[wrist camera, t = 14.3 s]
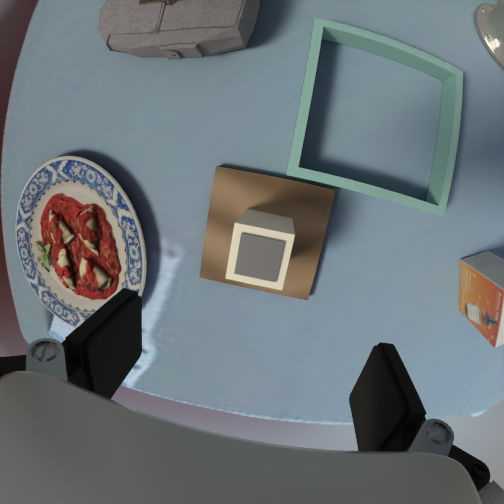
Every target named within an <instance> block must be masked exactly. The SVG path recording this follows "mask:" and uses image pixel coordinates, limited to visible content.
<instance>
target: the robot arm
mask: <svg viewBox="0 0 504 504" xmlns="http://www.w3.org/2000/svg"><path fill="white" fill-rule="evenodd" d="M474 17H475V24H476V27H477V30H478V33H479V35H480V37H481V39H482V41H483V43H484V45H485V47H486V48H487V50H488V51H489V53H490V54H491V55H492V57H493V58H494V59H495V60H496V61H497V63H498V64H499V65H500V66H501V67H502V68H503V69H504V0H499V3H498V4H496V5H491V4H482V5H481V6H479V7H478V8H477V9H476V11H475V16H474ZM65 339H66V340H65V341H63V342H62V343H60V342H59V341H57V340H55V339H51V338H43V339H38V340H36V341H34V342H32V343H31V344H30V345H29V347H28V349H27V354H26V355H20V356H9V357H0V504H504V490H503V489H502V488H501V487H500V486H499V485H498V484H497V483H496V482H495V481H494V480H493V481H492V482H489V480H490V471H489V469H488V467H487V466H486V465H485V463H483V462H482V461H480V460H478V459H477V458H475V457H473V456H472V455H470V454H468V453H466V452H464V451H463V450H461V449H460V448H458V447H456V446H454V445H453V441H454V433H453V431H452V429H451V427H450V426H449V425H448V424H447V423H445V422H444V421H441V420H439V419H428V420H426V418H425V414H426V411H425V409H424V407H423V404H422V402H421V400H420V398H419V395H418V393H417V391H416V389H415V387H414V385H413V383H412V380H411V378H410V376H409V374H408V372H407V370H406V368H405V366H404V364H403V362H402V360H401V358H400V356H399V354H398V352H397V350H396V348H395V346H394V345H393V344H389V343H379V344H378V345H375V346H374V347H373V349H372V351H371V353H370V355H369V358H368V360H367V362H366V364H365V366H364V368H363V370H362V372H361V374H360V376H359V378H358V380H357V382H356V384H355V386H354V388H353V390H352V392H351V394H350V398H349V402H350V407H351V412H352V417H353V423H354V428H355V433H356V439H357V444H358V451H339V450H323V449H311V448H301V447H292V446H284V445H277V444H270V443H264V442H258V441H252V440H246V439H241V438H237V437H232V436H227V435H222V434H218V433H214V432H210V431H206V430H202V429H198V428H194V427H190V426H187V425H183V424H180V423H176V422H173V421H170V420H166V419H163V418H160V417H157V416H154V415H151V414H148V413H145V412H142V411H140V410H137V409H134V408H132V407H129V406H126V405H123V404H121V403H118V402H115V401H113V400H111V398H112V396H113V395H114V393H115V392H116V390H117V389H118V387H119V386H120V385H121V383H122V382H123V380H124V379H125V377H126V376H127V375H128V373H129V372H130V370H131V369H132V368H133V366H134V365H135V363H136V362H137V361H138V359H139V358H140V356H141V353H142V298H141V296H138V292H137V291H134V290H130V289H127V288H123V289H122V290H120V291H119V292H118V293H117V294H116V295H114V296H113V297H112V298H111V299H110V300H108V301H107V302H106V303H105V304H104V305H103V306H101V307H100V308H99V309H98V310H97V311H96V312H94V313H93V314H92V315H91V316H90V317H89V318H87V319H86V320H85V321H84V322H83V323H82V324H81V325H79V326H78V327H77V328H76V329H75V330H74V331H73V332H72V333H70V334H69V335H68V336H67V337H66V338H65Z"/></svg>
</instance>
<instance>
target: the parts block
mask: <svg viewBox="0 0 504 504" xmlns="http://www.w3.org/2000/svg"><path fill="white" fill-rule="evenodd" d="M294 237H295V232H294V225H293V219H292V218H290V217H285V216H280V215H275V214H271V213H266V212H261V211H256V210H250V209H246V210H245V211H244V212H243V214H242V215H241V216H240V217H239V218H238V219H237V221H236V222H235V224H234V229H233V235H232V241H231V247H230V253H229V259H228V265H227V272H226V278H225V279H229V280H234V281H239V282H243V283H248V284H253V285H258V286H263V287H267V288H272V289H277V290H282V289H283V284H284V280H285V276H286V272H287V268H288V263H289V259H290V255H291V250H292V246H293V242H294Z"/></svg>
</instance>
